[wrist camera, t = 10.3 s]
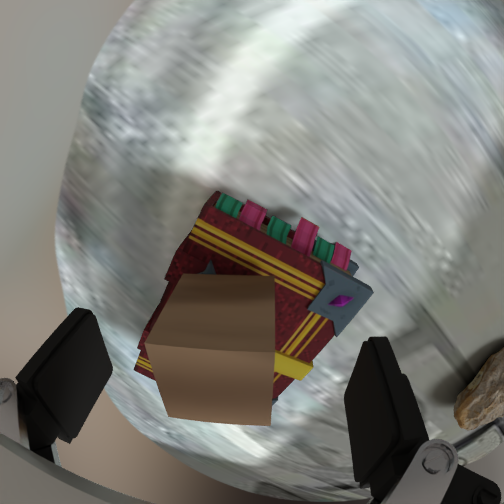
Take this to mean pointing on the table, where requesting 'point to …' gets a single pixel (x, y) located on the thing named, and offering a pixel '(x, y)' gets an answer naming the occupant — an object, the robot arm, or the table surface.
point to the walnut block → (216, 349)
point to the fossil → (482, 395)
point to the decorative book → (286, 279)
